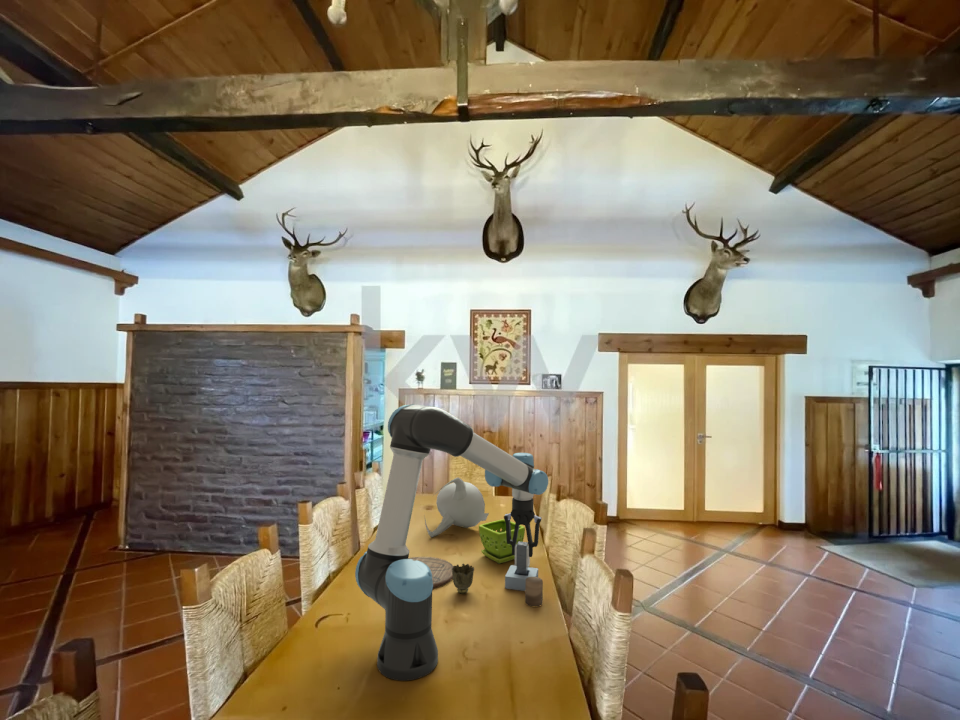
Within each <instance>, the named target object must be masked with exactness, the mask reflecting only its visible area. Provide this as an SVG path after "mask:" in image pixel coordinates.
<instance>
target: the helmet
mask: <svg viewBox="0 0 960 720" xmlns="http://www.w3.org/2000/svg"><path fill="white" fill-rule="evenodd" d="M436 494H437V496H436V507H437V511H438V512H439V514H440V516H441V517H442V519H441V522H440V523H439V524H438V526H437V527H436V528H435V529H434V530H432V531H431V530H429V528H428V526H427V521H426V519H424V524H425V528H426V530H427V534H428V535H429V537H430V538H434V537H436V536H439V535H440V534H442V533H443V532H445V531H447V530H448V529H449V528H450V527H451V526H457V527H461V528H467V529H468V528H474V527H476V526H477V525H478V524H479V523H480V522H484V521H486V520H487V518H488V516H489V512H486V513H485V507H486V504H485V500H484V497H483V494H482V492H481V491H480V489H479V488H478V487H477V486H476V485H474V484H473V483H471V482H468V481H464V480H463V479H462V478H461V477H455V478H454V479H452V480H450V481H449V482H447V483H446V484H444V485H443V486H442V487H441V488H439V490H438V493H437V492H435V493H434V494H433V496H434V495H436ZM425 515H426V514H424V515H423V516H424V517H426V516H425Z"/></svg>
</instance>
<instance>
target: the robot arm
mask: <svg viewBox="0 0 960 720" xmlns="http://www.w3.org/2000/svg"><path fill="white" fill-rule="evenodd" d="M387 431H388V434H389V436H390V437H391V441H390V445H389V449H390V450H391V452H392V453H393V456H392V461H391V466H390V470H389V474H388V479H387V484H386V489H385V493H384V498H383V502H382V505H381V510H380V511H381V512H380V516H379V521H378V525H377V530H376V535H375V539H374V540H373V541H372V542H369V543H368V546H367V549H366V551H365V552H364V553H363V555H361V556H360V557H359V559H358V561H357V564H356V567H355V571H354V574H355V582H356V583H357V585H358V587H359V589H360V590H361V592H363V594H364V595H365V596H366V597H368V598H371V600H373V601H374V602H375V603H377V605H379V606H380V607H381V608H382V609H384V611H385V615H384V616H385V621H384V626H385V627H384V634H383V637H382V640H381V643H380V645H379V649H378V652H377V657H376V658H377V661H376V664H377V665H376V666H377V667H376V668H377V669H378V671H379V672H380V674H381V675H383V676H384V677H385V678H388V679H391V680H394V681H403V682H404V681H412V680H417V679H419V678H423V677H425V676H427V675H429V674H430V673H432V671H434V670H435V668H436V667H437V665H438V661H439V660H438V659H439V649H438V646H437V641H436V639H435V636H434V633H433V628H432V624H433V623H432V621H433V618H432V615H433V590H434V588H433V581H432V573H431V570H430V568H429V567H428V566H427V565H426V564H424V563H423V562H421V561H418V560H416V561H413V559H408V558H410V556H409V555H410V550H409V548H408V547H407V541H408V540H407V539H408V535H409V534H408V533H409V529H410V523H411V521H412V520H411V519H412V515H413V511H414V510H413V508H414V505H415V501H416V495H417V491H418V484H419V482H420V477H421V475H420V474H421V470H422V465H423V461H424V459H426V458H427V457H428V456H429V455H430V452H431V449H432V450H436V451H439V452H443V453H445V454H448V455H450V456H452V457H454V458H457V457H462V458H464V459H465V460H467V461H469V462H471V463H472V464H475V465H476V466H478V467H480V468H482V469H484V480H485V481H486V483H487V484H488V485H489V487H491V488H492V487H493V488H494V487H495V488H496V487H498V488H499V487H500V486H501V487H502V486H503V487H506V488H511V496H512V498H511V511H510V513H505V514H504V516H503V519H504V520H505V522H506V531H505V532H506V538H507V544H510V545H512V555H515V559H514V565H515V566H517V544H516V543H517V536H518V531H519V526H520V525H521V526H524V527H525V533H526V539H527V542H528V546H527V556H526V567H528V568H529V567H530V565H531V559H530V558H533V555H534V551H533V550H534V548H536V547H538V545H539V538H540V537H539V535H540V524H541V522H542V520H543V519H542V517H541V516H538V515H536V513H535V512H534V511H535V510H534V495H538V496H539V495H542V494H544V493H545V492H546V491H547V489H548V486H549V477H548V475H547V473H546V472H545V471H543V470H540V469H539V468H537V469H536V468H535V463H534V461H535V460H534V456H533V455H534V454H532V453H529V452H515V453H513V455H511V454H510V453H508V452H506V450H503V449H501V448H500V447H498V446H497V445H495V444H493V443H492V442H491V441H489V440H487V439H486V438H484V437H483V436H481V435H478V434H477V433H475V432H474V429H473V427H472V426H470V425H469V424H467V423H466V422H464V421H463V420H462V419H460V418H459V417H456V416H455V415H453V414H452V413H450V412H449V411H446V410H445V409H442V408H440V407H438V406H433V405H432V406H431V405H430V406H429V405H422V404H417V403H416V404H415V403H412V404H404V405H401V406H399V407H397V408H396V409H395V410H393V412H392V413H391V415H390V416H389V418H388V423H387ZM511 519H513V522H514V523H515V529H514V535H513V540H511V524H510V521H511ZM533 520H534V523H535V526H534V536H533V535H532V530H531V529H532V527H531V522H532V521H533ZM533 537H534V538H533ZM533 539H534V540H533Z"/></svg>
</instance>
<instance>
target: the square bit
mask: <svg viewBox="0 0 960 720" xmlns="http://www.w3.org/2000/svg"><path fill="white" fill-rule="evenodd" d="M527 546H528V541H523V542H520V541H518V543H517V574H516V575H524V576H528V567H526V556H527Z"/></svg>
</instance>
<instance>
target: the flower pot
mask: <svg viewBox="0 0 960 720" xmlns="http://www.w3.org/2000/svg"><path fill="white" fill-rule="evenodd" d="M515 523H516V522H515V521H512V520H510V524H511V540H513V535H514V529H515ZM478 531H479V537H480V542H481V545H482V546H483V548H484V549H482V550H481V553H482V554H483V555H484V557H487V558H488V559H490V560H491V561H494V562H495V563H497V564H498V565H500V564H502V563H507V562H509V561H513V560H515V555H512V545H510V544H507V538H506V522H505V520H504V518H503V519H502V518H501V519H498V520H494V521H490V522H486V523H481V524H479V525H478ZM525 533H526V528H525V526H524V525H520V526H519V531H518V536H517V543H518V541H520V542H524V539H525ZM517 543H516V544H517Z"/></svg>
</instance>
